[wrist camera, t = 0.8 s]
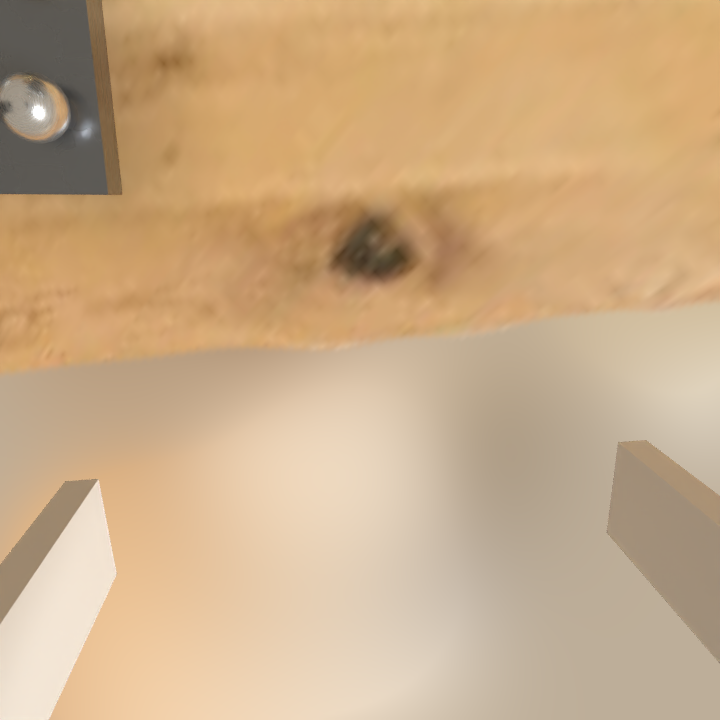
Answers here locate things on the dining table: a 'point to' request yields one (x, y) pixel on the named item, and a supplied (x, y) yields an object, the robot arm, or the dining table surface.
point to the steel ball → (33, 107)
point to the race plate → (82, 88)
